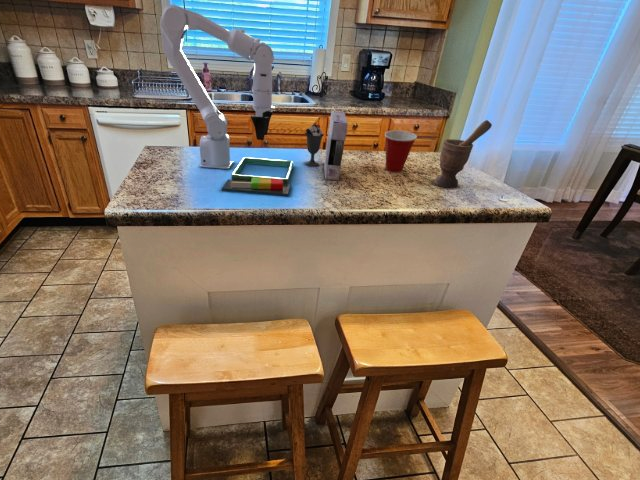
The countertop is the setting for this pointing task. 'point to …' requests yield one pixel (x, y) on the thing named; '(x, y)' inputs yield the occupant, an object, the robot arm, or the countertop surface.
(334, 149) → the cake pan box
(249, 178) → the baking frame
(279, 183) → the popsicle
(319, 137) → the sundae
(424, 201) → the countertop surface
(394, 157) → the plastic cup
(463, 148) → the mortar and pestle
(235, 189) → the slate board
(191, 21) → the robot arm
